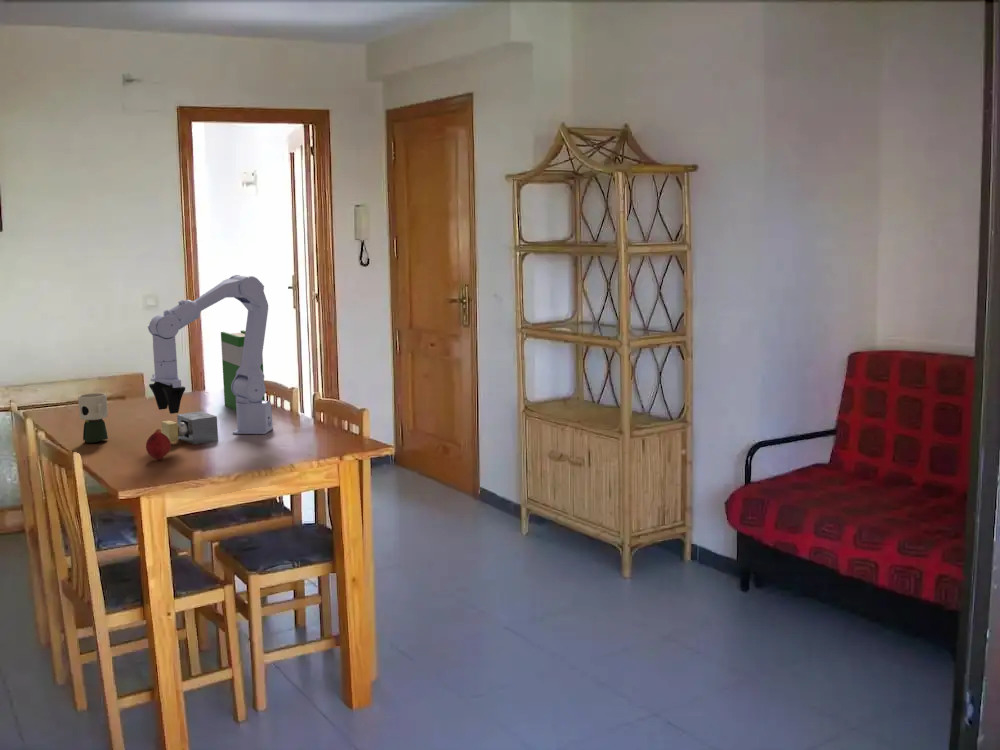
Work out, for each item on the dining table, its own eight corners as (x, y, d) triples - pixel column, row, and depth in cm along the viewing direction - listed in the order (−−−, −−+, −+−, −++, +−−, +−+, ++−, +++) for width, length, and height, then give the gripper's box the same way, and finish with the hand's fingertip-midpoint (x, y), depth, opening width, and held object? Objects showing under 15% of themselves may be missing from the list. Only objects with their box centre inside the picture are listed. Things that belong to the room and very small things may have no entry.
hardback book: (224, 405, 318) (220, 332, 314) (247, 402, 322) (243, 330, 318) (242, 414, 303) (238, 337, 299) (265, 411, 307) (261, 335, 303)
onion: (157, 464, 241) (155, 432, 240) (142, 461, 244) (139, 430, 243) (176, 459, 246) (174, 428, 245) (161, 456, 249) (159, 425, 248)
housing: (202, 435, 274) (201, 411, 273) (218, 440, 266) (216, 416, 265) (178, 438, 269) (176, 414, 268) (193, 444, 262) (192, 420, 261)
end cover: (192, 434, 269) (191, 417, 268) (199, 437, 266) (198, 419, 265) (162, 439, 264) (161, 421, 263) (169, 442, 260) (168, 424, 259)
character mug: (75, 440, 268) (71, 394, 266) (101, 436, 273) (97, 391, 271) (90, 447, 260) (86, 399, 258) (116, 443, 265) (113, 395, 263)
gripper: (140, 359, 262) (143, 409, 264) (161, 365, 251) (164, 417, 253) (165, 356, 267) (168, 405, 269) (187, 362, 256) (190, 413, 258)
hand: (168, 411), depth 261 cm, fingers open, 7 cm apart
